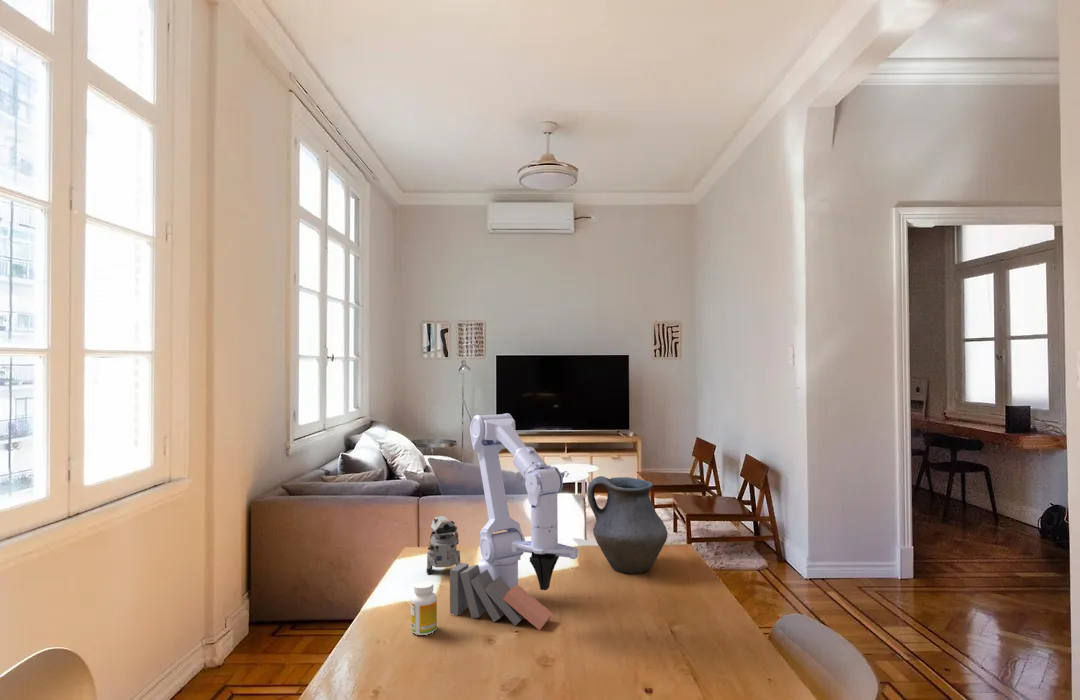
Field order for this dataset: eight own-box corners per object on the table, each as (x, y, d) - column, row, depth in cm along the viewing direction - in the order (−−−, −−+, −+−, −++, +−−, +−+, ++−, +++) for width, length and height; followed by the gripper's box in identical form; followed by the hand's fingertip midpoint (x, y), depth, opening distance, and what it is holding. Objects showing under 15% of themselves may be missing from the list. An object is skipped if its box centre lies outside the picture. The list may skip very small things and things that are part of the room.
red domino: (539, 630, 125) (503, 599, 128) (548, 620, 130) (512, 591, 133) (544, 623, 125) (507, 592, 128) (552, 613, 129) (516, 584, 132)
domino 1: (450, 614, 133) (449, 569, 133) (461, 606, 138) (460, 562, 138) (457, 616, 132) (457, 570, 133) (468, 607, 137) (468, 563, 137)
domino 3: (493, 622, 129) (470, 580, 131) (503, 613, 134) (480, 573, 136) (500, 618, 128) (476, 576, 131) (510, 609, 133) (487, 569, 135)
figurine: (424, 582, 153) (424, 524, 153) (428, 567, 164) (428, 513, 165) (459, 581, 154) (459, 523, 154) (461, 566, 165) (461, 512, 166)
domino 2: (471, 618, 131) (459, 573, 132) (482, 609, 136) (470, 566, 137) (479, 617, 130) (467, 571, 132) (489, 608, 135) (478, 564, 136)
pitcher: (675, 581, 152) (674, 484, 153) (590, 581, 152) (589, 484, 153) (660, 555, 173) (659, 469, 173) (585, 556, 173) (584, 470, 174)
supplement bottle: (441, 627, 127) (441, 581, 127) (428, 638, 122) (428, 590, 122) (419, 623, 128) (419, 578, 129) (405, 634, 123) (405, 587, 124)
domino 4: (515, 626, 127) (484, 589, 130) (524, 616, 132) (494, 581, 135) (520, 620, 126) (489, 583, 129) (529, 611, 131) (499, 576, 134)
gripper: (505, 526, 127) (506, 590, 126) (570, 532, 121) (570, 599, 121) (519, 518, 133) (519, 579, 133) (580, 524, 128) (581, 587, 127)
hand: (544, 588), depth 127 cm, fingers closed
